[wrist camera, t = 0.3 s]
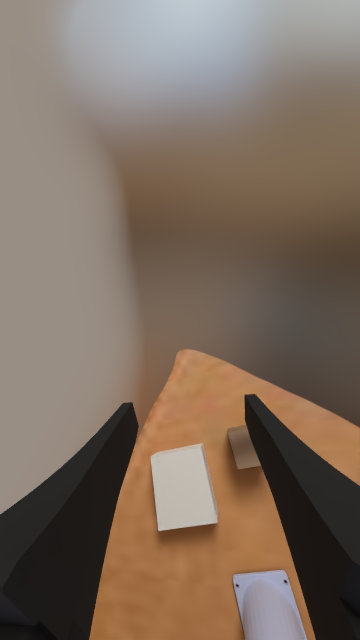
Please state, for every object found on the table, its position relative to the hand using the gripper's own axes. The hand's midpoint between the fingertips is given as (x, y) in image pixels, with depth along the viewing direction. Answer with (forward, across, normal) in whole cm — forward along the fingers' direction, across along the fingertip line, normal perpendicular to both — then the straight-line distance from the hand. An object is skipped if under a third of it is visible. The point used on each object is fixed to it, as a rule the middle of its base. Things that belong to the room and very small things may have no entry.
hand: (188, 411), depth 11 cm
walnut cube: (+16, -8, +25) cm, 30 cm away
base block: (+13, +4, +30) cm, 33 cm away
